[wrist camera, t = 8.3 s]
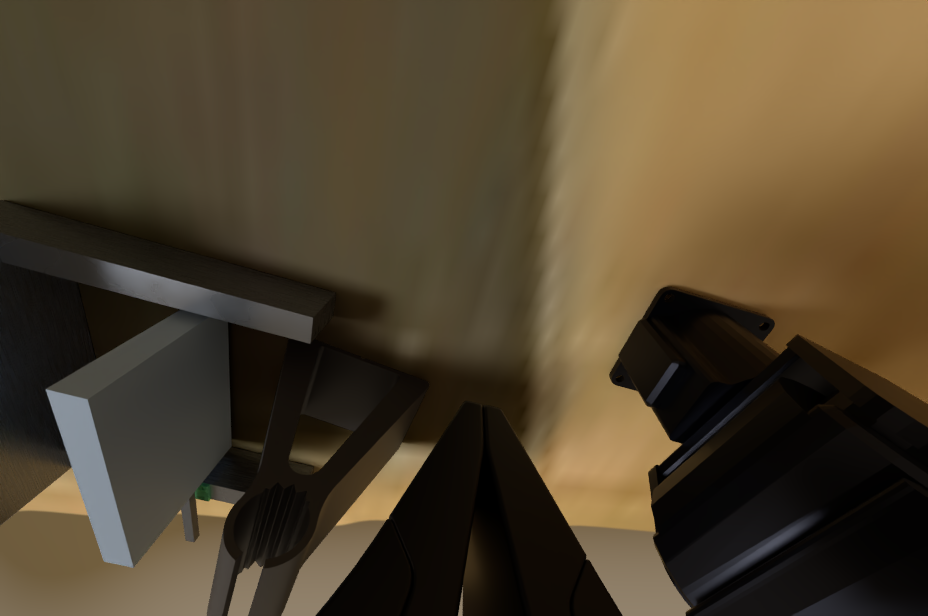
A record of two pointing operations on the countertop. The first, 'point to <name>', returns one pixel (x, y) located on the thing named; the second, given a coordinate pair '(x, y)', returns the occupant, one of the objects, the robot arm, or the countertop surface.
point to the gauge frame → (69, 344)
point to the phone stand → (320, 494)
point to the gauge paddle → (147, 430)
